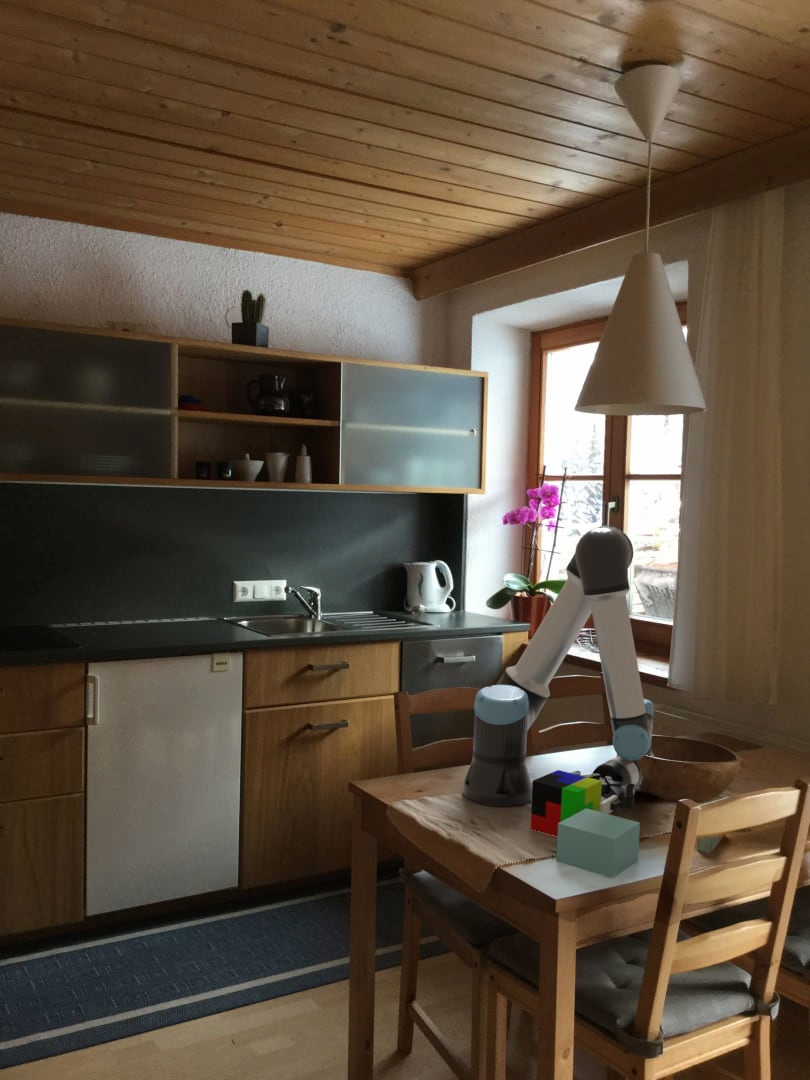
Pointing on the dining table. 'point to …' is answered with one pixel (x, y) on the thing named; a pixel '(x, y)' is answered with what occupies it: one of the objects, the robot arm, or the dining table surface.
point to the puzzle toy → (562, 799)
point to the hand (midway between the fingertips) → (569, 802)
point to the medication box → (708, 843)
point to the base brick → (598, 842)
